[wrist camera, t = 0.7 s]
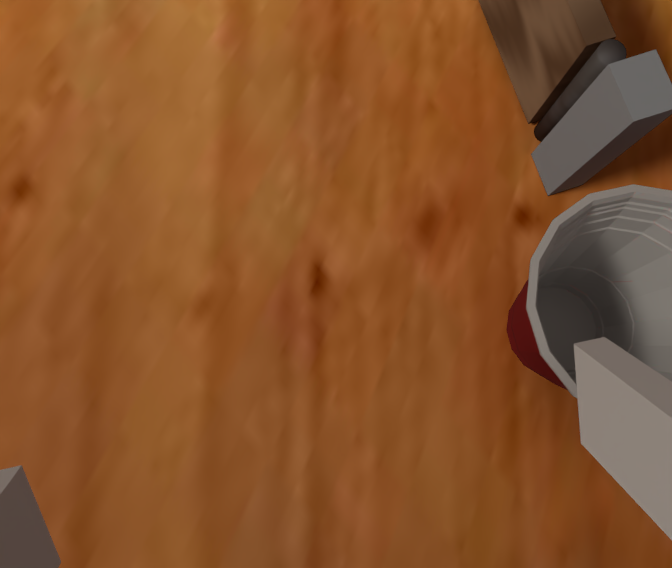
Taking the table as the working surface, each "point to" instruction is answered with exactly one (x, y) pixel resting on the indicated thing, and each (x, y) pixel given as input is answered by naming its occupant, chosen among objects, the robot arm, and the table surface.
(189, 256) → the table surface
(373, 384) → the table surface
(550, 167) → the grey upright posts
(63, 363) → the table surface
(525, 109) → the door
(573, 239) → the plastic cup
